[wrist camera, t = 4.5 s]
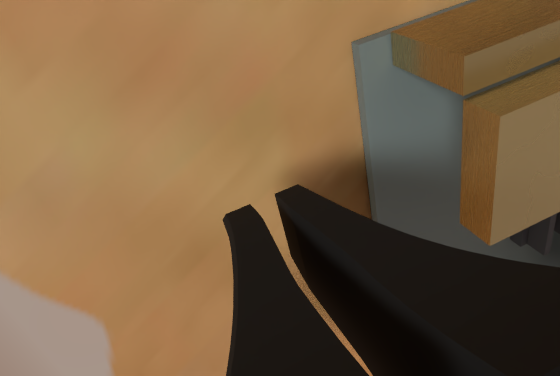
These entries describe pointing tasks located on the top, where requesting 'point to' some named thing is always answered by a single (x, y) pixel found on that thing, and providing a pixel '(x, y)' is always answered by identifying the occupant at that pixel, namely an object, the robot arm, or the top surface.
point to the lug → (497, 105)
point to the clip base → (427, 156)
